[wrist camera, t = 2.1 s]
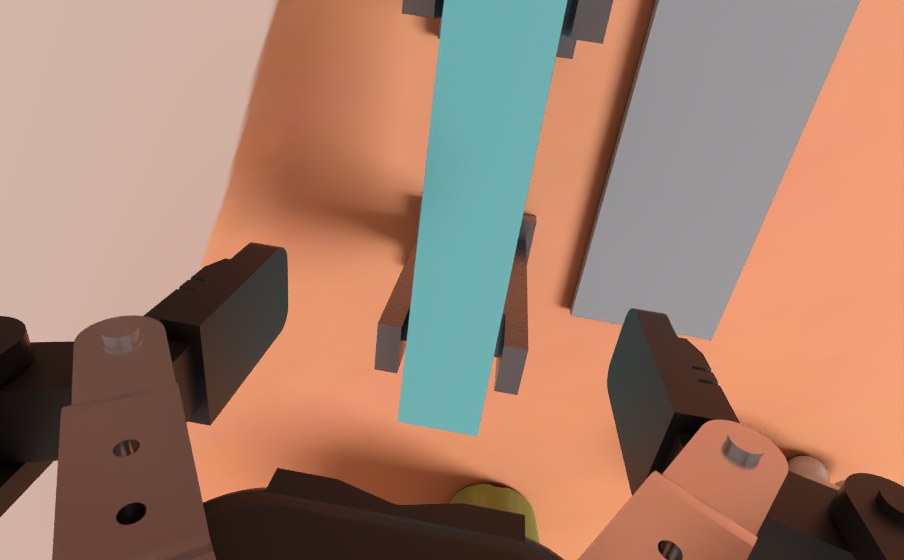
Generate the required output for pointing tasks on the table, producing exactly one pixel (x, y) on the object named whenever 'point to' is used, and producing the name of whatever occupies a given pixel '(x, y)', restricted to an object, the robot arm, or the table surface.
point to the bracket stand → (580, 22)
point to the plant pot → (499, 503)
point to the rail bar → (474, 199)
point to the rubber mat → (703, 153)
